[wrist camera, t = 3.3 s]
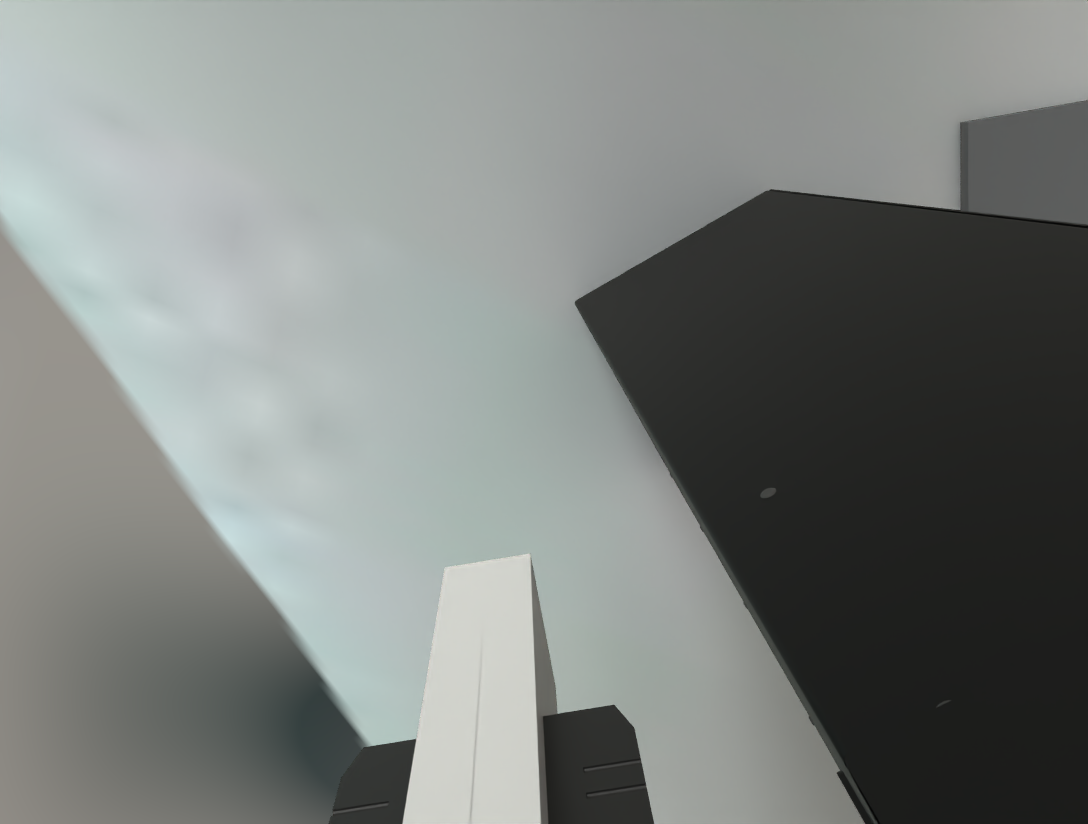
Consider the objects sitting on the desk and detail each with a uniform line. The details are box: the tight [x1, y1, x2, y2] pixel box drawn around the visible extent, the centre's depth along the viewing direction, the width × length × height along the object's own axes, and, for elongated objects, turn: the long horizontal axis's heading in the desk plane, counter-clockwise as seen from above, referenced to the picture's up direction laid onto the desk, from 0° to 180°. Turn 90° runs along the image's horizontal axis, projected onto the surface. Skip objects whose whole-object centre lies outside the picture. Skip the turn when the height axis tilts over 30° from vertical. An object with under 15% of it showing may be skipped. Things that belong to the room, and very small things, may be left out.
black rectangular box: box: [575, 189, 1088, 824], centre depth 16 cm, size 8×8×28 cm
